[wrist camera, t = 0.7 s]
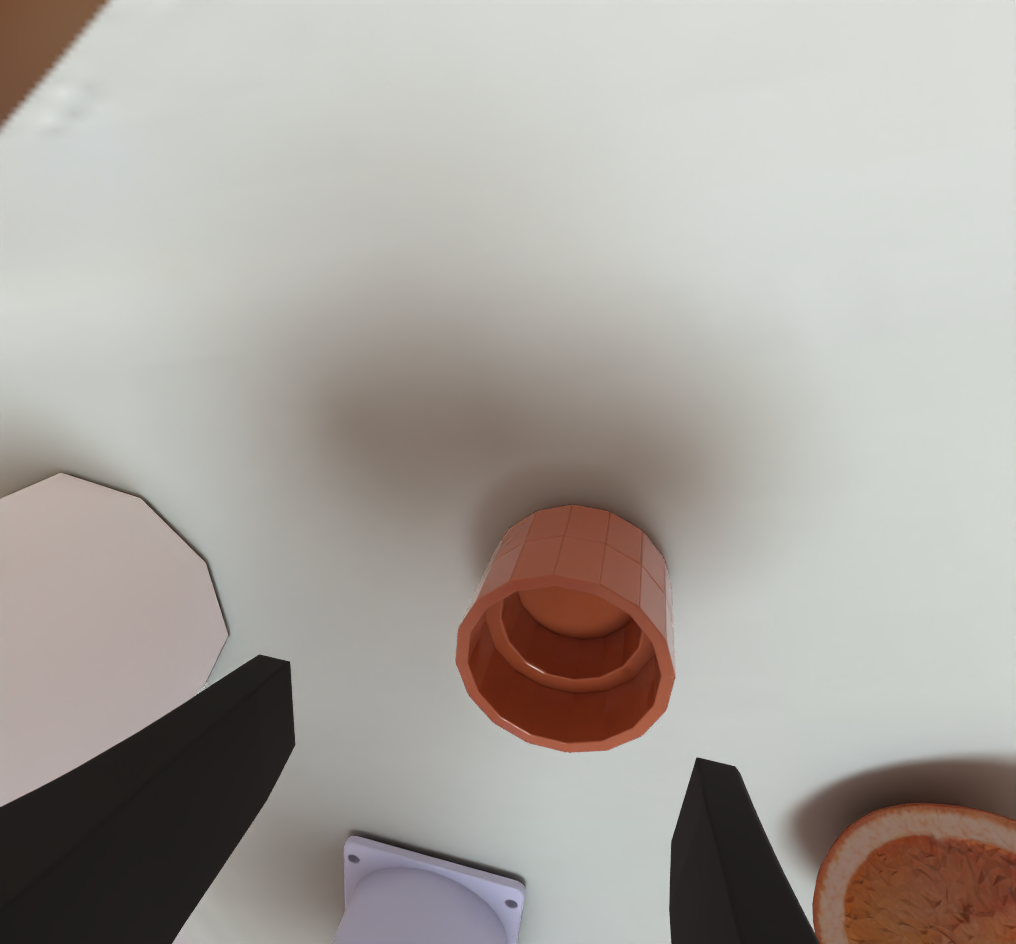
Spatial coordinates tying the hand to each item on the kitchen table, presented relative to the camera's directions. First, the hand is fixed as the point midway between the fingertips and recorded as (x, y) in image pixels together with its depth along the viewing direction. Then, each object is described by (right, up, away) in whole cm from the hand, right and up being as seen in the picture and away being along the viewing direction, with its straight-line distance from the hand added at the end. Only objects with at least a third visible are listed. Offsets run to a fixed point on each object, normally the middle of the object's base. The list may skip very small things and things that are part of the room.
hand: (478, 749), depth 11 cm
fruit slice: (+15, -8, +11) cm, 20 cm away
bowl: (+3, +1, +9) cm, 10 cm away
